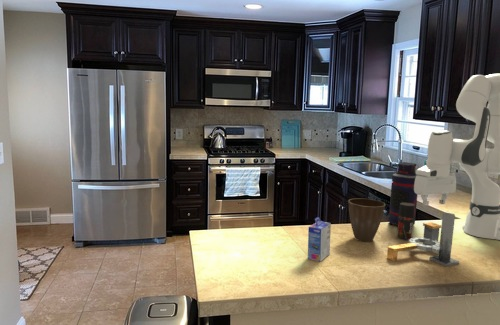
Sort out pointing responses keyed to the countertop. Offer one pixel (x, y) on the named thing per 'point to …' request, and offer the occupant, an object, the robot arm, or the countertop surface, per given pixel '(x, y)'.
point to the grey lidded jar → (431, 231)
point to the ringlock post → (438, 247)
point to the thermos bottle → (402, 190)
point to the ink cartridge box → (319, 240)
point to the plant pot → (365, 217)
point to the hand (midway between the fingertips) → (433, 204)
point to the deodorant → (405, 221)
